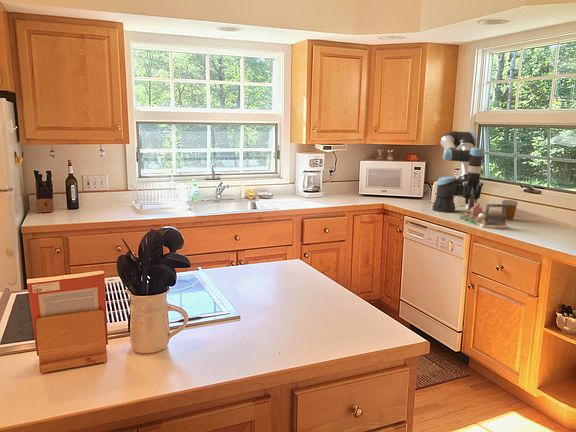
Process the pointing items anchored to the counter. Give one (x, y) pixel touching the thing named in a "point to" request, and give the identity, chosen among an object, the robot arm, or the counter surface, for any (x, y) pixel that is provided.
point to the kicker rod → (476, 209)
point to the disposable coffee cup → (509, 208)
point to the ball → (481, 216)
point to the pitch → (488, 218)
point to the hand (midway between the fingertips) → (469, 208)
